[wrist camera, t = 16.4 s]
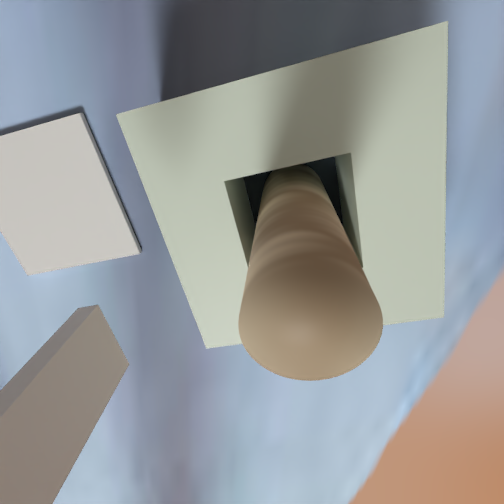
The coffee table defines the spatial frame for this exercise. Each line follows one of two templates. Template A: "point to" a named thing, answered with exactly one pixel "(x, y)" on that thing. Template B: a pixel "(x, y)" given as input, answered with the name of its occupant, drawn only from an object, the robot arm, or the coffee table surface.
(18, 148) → the coaster
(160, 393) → the coffee table surface
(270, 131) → the socket block
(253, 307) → the peg
